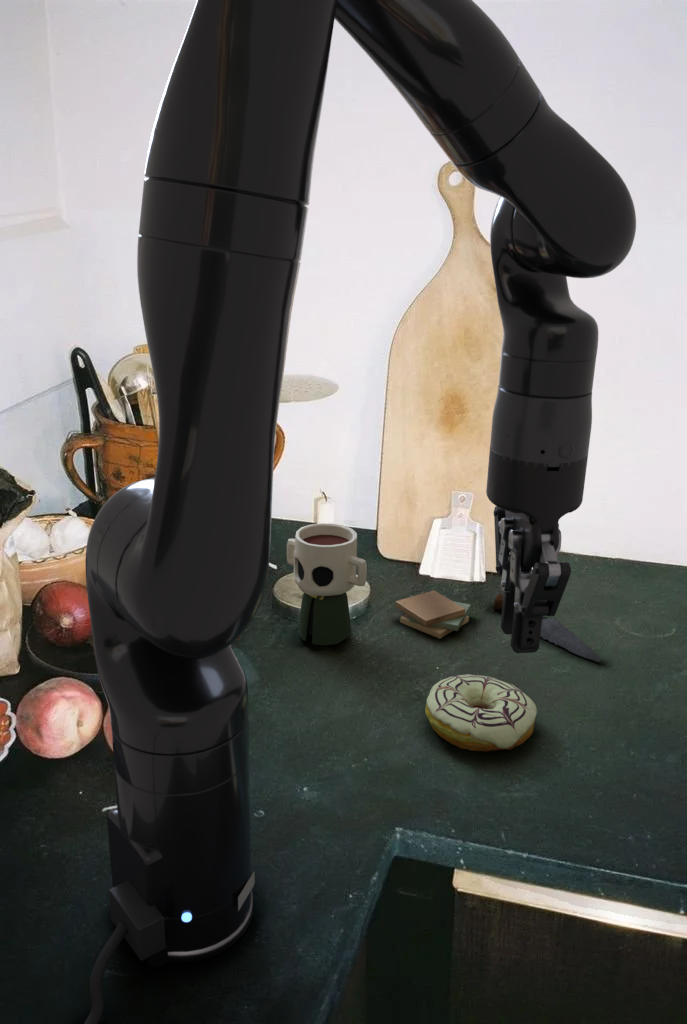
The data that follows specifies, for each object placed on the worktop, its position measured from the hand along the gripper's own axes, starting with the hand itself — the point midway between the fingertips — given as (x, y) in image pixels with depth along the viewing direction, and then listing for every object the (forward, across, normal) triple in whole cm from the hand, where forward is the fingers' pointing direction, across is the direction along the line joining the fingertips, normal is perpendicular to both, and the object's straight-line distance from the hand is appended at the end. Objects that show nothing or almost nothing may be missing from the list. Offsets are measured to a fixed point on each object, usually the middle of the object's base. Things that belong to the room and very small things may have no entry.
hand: (519, 640), depth 79 cm
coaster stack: (+15, -32, 0) cm, 35 cm away
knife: (+15, -28, +13) cm, 35 cm away
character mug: (+15, -29, -14) cm, 36 cm away
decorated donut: (+15, -10, 0) cm, 18 cm away
